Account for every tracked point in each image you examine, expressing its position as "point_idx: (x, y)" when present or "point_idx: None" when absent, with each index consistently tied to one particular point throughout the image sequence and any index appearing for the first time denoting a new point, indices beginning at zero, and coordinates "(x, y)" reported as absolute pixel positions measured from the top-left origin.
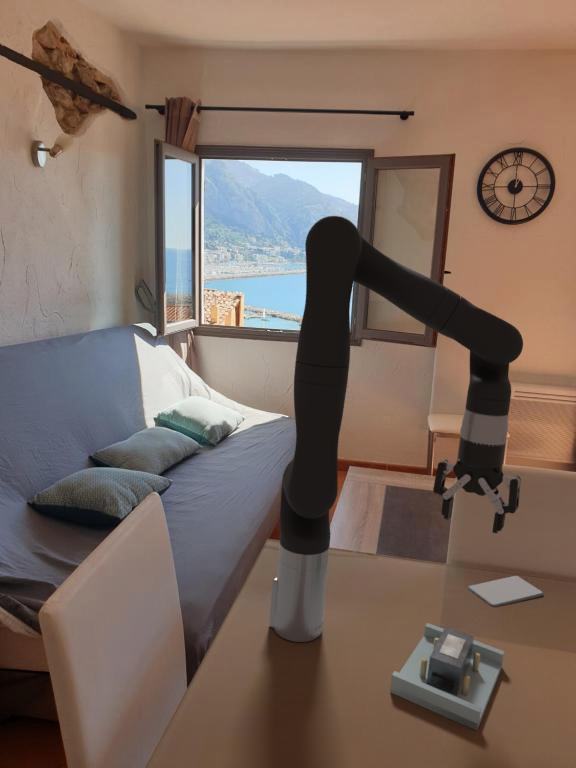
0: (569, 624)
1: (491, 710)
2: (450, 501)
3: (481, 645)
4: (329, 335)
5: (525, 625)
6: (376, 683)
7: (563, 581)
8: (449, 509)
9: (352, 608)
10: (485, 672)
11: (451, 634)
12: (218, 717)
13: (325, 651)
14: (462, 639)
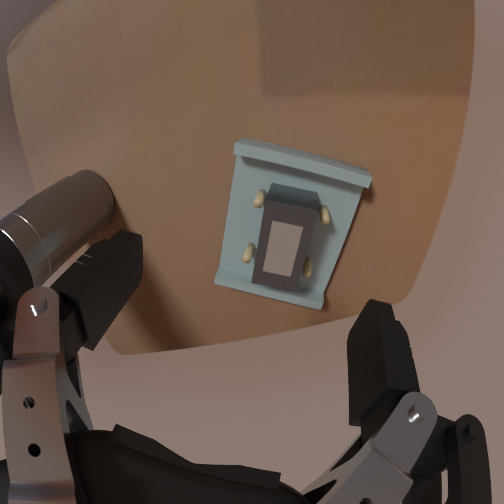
0: (474, 21)
1: (340, 260)
2: (93, 341)
3: (334, 175)
4: None
5: (411, 34)
6: (202, 260)
7: None
8: (116, 308)
9: (122, 115)
10: (338, 209)
11: (278, 218)
12: (117, 326)
13: (133, 227)
14: (297, 228)
